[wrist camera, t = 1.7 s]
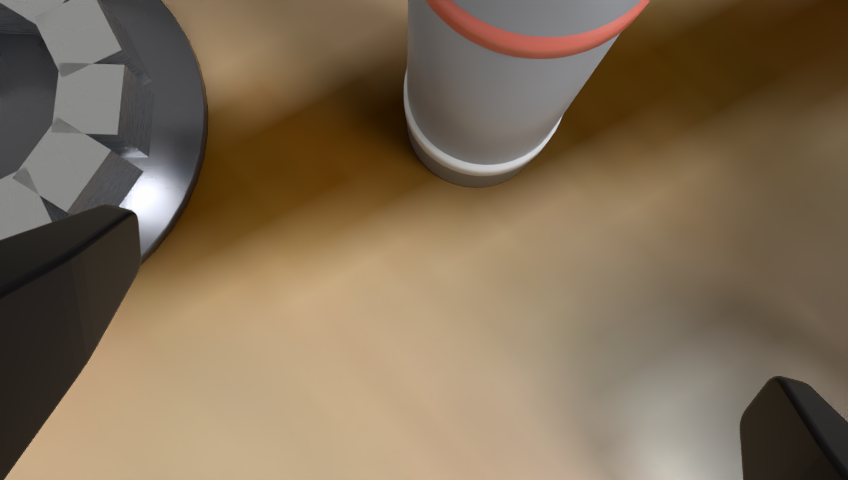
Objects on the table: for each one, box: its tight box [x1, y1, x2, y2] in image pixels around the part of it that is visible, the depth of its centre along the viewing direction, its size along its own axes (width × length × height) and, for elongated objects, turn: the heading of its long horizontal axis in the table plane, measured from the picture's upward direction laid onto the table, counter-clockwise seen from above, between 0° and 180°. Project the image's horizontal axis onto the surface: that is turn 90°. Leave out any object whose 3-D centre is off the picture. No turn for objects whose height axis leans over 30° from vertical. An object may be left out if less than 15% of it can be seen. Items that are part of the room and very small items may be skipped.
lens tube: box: [404, 0, 650, 188], centre depth 17 cm, size 5×5×13 cm
